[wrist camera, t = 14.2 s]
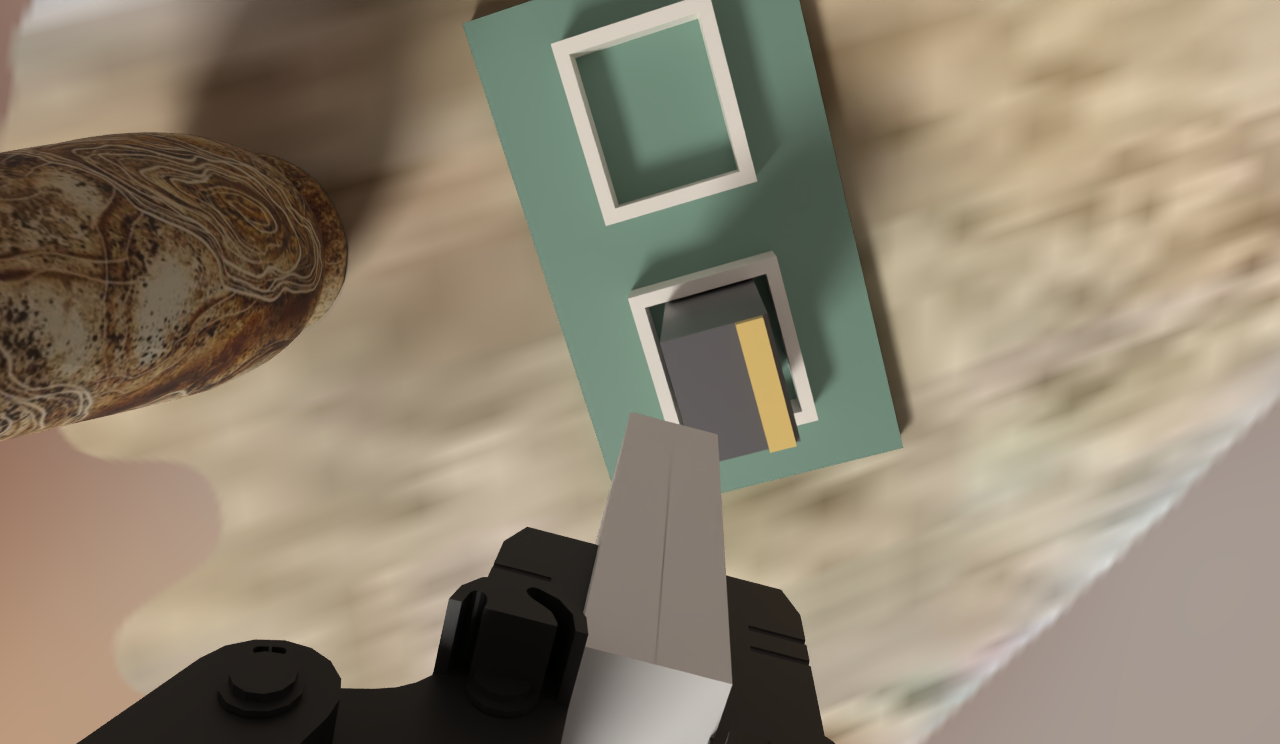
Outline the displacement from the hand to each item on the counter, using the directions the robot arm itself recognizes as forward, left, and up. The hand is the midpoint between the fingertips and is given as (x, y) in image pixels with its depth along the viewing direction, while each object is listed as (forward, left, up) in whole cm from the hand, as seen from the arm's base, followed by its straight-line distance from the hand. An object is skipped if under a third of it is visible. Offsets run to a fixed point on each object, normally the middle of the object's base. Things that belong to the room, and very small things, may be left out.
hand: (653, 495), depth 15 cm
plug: (+4, +1, -26) cm, 26 cm away
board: (-1, +1, -27) cm, 27 cm away
